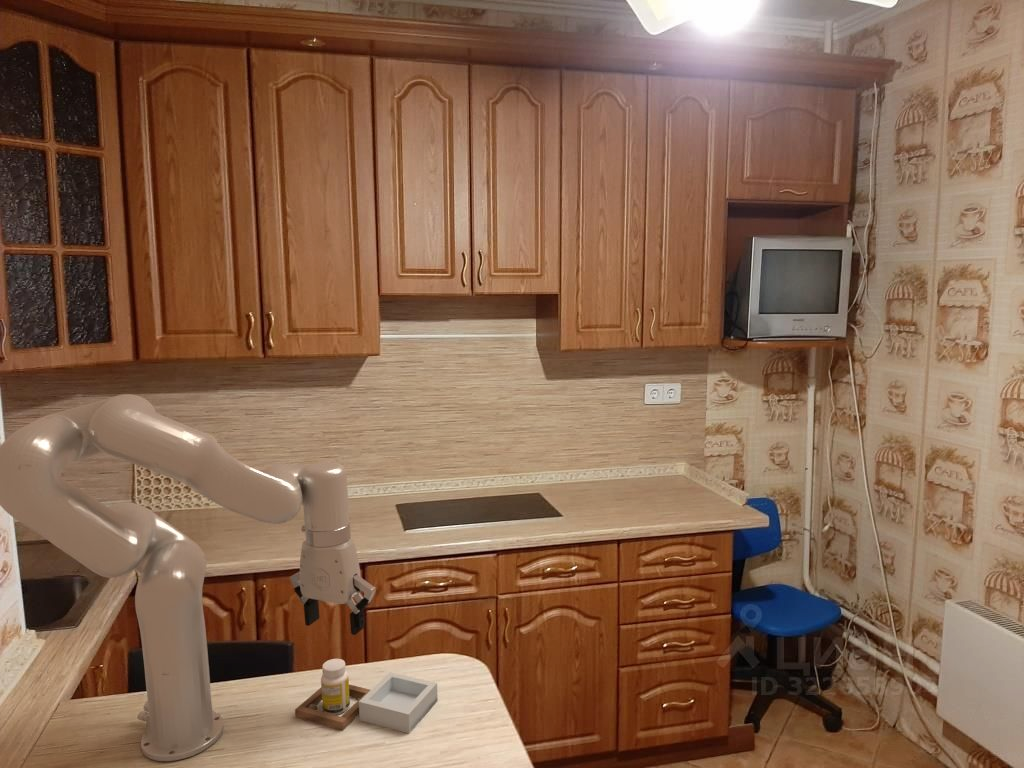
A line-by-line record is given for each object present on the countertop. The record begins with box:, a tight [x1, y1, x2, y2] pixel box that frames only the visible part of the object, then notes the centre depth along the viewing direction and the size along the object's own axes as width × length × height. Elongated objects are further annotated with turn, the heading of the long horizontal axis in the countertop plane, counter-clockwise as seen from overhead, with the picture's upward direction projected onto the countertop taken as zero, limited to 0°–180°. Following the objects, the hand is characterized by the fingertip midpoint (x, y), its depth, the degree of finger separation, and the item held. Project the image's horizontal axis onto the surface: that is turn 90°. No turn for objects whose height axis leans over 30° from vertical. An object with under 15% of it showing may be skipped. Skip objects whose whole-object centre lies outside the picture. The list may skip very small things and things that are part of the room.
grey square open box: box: [358, 671, 439, 734], centre depth 126 cm, size 10×10×4 cm
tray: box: [294, 684, 371, 731], centre depth 127 cm, size 10×10×2 cm
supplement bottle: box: [320, 658, 351, 716], centre depth 127 cm, size 5×5×8 cm
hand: (335, 626), depth 125 cm, fingers open, 9 cm apart
